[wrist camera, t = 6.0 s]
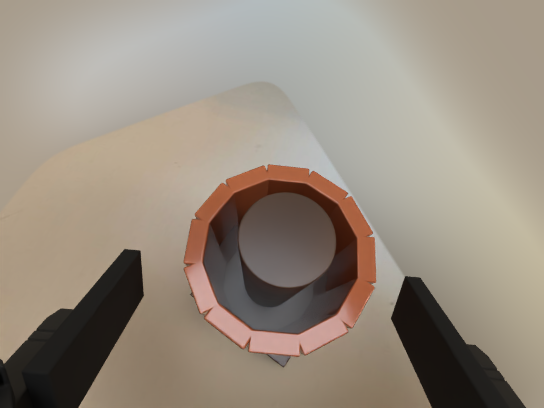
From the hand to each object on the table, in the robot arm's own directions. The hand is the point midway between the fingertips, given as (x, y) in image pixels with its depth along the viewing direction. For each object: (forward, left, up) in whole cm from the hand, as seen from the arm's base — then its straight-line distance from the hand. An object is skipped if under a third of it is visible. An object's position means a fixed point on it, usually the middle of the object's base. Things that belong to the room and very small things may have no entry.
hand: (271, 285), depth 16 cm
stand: (0, -1, -8) cm, 8 cm away
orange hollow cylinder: (0, -1, -7) cm, 7 cm away
